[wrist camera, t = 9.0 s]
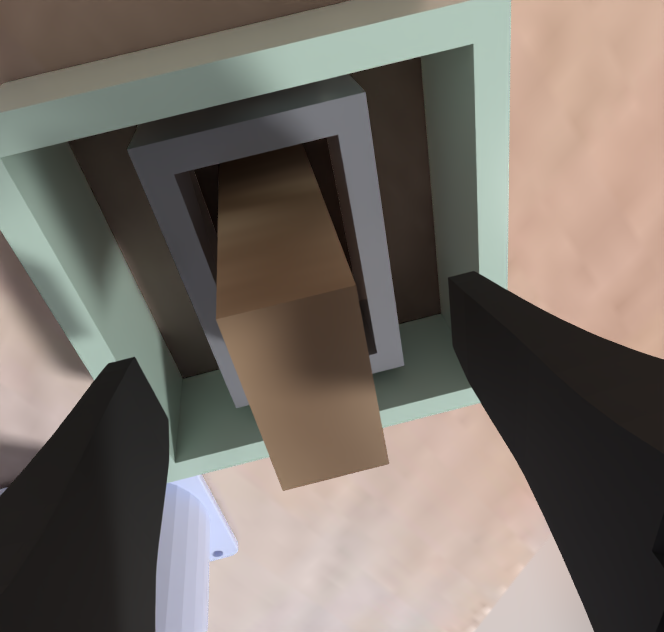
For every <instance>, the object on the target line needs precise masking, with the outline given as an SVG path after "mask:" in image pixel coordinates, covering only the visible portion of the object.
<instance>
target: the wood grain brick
mask: <svg viewBox="0 0 664 632" xmlns="http://www.w3.org/2000/svg"><path fill="white" fill-rule="evenodd" d="M216 321H217V323H218V326H219V329H220V331H221V334H222V336H223V339H224V341H225V344H226V346H227V349H228V352H229V354H230V357H231V359H232V362H233V364H234V367H235V369H236V372H237V375H238V377H239V380H240V382H241V385H242V387H243V390H244V392H245V395H246V398H247V400H248V403H249V405H250V408H251V410H252V413H253V415H254V418H255V421H256V423H257V426H258V428H259V431H260V433H261V436H262V438H263V441H264V444H265V446H266V449H267V451H268V454H269V456H270V459H271V461H272V464H273V467H274V469H275V472H276V474H277V477H278V479H279V482H280V484H281V487H282V490H283V491H285V490H289V489H293V488H296V487H300V486H304V485H308V484H312V483H316V482H320V481H324V480H328V479H332V478H336V477H340V476H344V475H348V474H351V473H355V472H359V471H363V470H367V469H371V468H375V467H379V466H383V465H387V464H389V461H388V455H387V450H386V445H385V439H384V434H383V428H382V423H381V417H380V412H379V407H378V401H377V396H376V390H375V385H374V380H373V374H372V369H371V363H370V358H369V353H368V347H367V342H366V336H365V331H364V325H363V320H362V315H361V309H360V304H359V298H358V293H357V288H356V284H355V281H354V278H353V276H352V273H351V270H350V268H349V265H348V263H347V260H346V257H345V255H344V252H343V249H342V247H341V244H340V241H339V239H338V236H337V234H336V231H335V228H334V226H333V223H332V220H331V218H330V215H329V212H328V210H327V207H326V204H325V202H324V199H323V197H322V194H321V191H320V189H319V186H318V183H317V181H316V178H315V175H314V173H313V170H312V168H311V165H310V162H309V160H308V157H307V154H306V152H305V149H304V146H303V144H302V143H301V144H297V145H293V146H289V147H285V148H281V149H277V150H272V151H268V152H264V153H260V154H256V155H252V156H248V157H244V158H240V159H235V160H231V161H227V162H223V163H219V197H218V245H217V292H216Z"/></svg>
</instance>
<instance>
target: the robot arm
mask: <svg viewBox="0 0 664 632" xmlns="http://www.w3.org/2000/svg"><path fill="white" fill-rule="evenodd" d="M448 287H449V301H450V316H451V331H452V345H453V348H454V351H455V353H456V355H457V358H458V360H459V362H460V365H461V367H462V369H463V371H464V374H465V376H466V378H467V380H468V382H469V384H470V386H471V387H472V389H473V391H474V392H475V394H476V396H477V397H478V399H479V401H480V402H481V404H482V406H483V407H484V409H485V411H486V412H487V414H488V415H489V417H490V419H491V420H492V422H493V423H494V425H495V427H496V428H497V430H498V432H499V433H500V435H501V436H502V438H503V440H504V441H505V443H506V445H507V446H508V448H509V449H510V451H511V453H512V454H513V456H514V458H515V459H516V461H517V463H518V465H519V467H520V468H521V470H522V472H523V474H524V476H525V478H526V480H527V482H528V484H529V486H530V488H531V490H532V492H533V494H534V496H535V498H536V501H537V503H538V505H539V507H540V509H541V511H542V513H543V515H544V517H545V520H546V522H547V524H548V526H549V528H550V531H551V533H552V535H553V537H554V539H555V541H556V544H557V546H558V548H559V550H560V552H561V554H562V557H563V559H564V561H565V564H566V566H567V568H568V571H569V573H570V575H571V578H572V580H573V582H574V585H575V587H576V589H577V591H578V594H579V596H580V598H581V601H582V603H583V605H584V608H585V610H586V612H587V615H588V618H589V620H590V622H591V625H592V627H593V630H594V632H664V360H663V359H660V358H657V357H653V356H651V355H648V354H645V353H642V352H639V351H636V350H633V349H630V348H628V347H625V346H622V345H620V344H617V343H615V342H612V341H609V340H607V339H604V338H602V337H599V336H597V335H594V334H592V333H590V332H587V331H585V330H583V329H581V328H579V327H577V326H575V325H572V324H570V323H568V322H566V321H564V320H562V319H560V318H558V317H556V316H554V315H552V314H550V313H548V312H546V311H544V310H542V309H540V308H538V307H537V306H535V305H533V304H531V303H529V302H527V301H526V300H524V299H522V298H520V297H518V296H517V295H515V294H513V293H512V292H510V291H508V290H506V289H505V288H503V287H501V286H500V285H498V284H496V283H494V282H493V281H491V280H489V279H488V278H486V277H484V276H482V275H481V274H479V273H477V272H475V271H471V272H467V273H463V274H460V275H456V276H452V277H448ZM168 468H169V419H168V417H167V415H166V413H165V411H164V410H163V408H162V406H161V404H160V402H159V400H158V398H157V397H156V395H155V393H154V391H153V389H152V387H151V385H150V384H149V382H148V380H147V378H146V376H145V374H144V372H143V371H142V369H141V367H140V365H139V363H138V361H137V359H136V358H135V357H131V358H127V359H123V360H119V361H115V362H111V363H108V364H107V365H106V366H105V368H104V369H103V370H102V371H101V373H100V374H99V375H98V376H97V378H96V379H95V380H94V382H93V383H92V384H91V386H90V387H89V388H88V390H87V391H86V392H85V394H84V395H83V396H82V398H81V399H80V400H79V402H78V403H77V404H76V406H75V407H74V408H73V409H72V411H71V412H70V413H69V415H68V416H67V417H66V419H65V420H64V421H63V422H62V424H61V425H60V426H59V428H58V429H57V430H56V432H55V433H54V434H53V435H52V437H51V438H50V439H49V440H48V441H47V443H46V444H45V445H44V446H43V447H42V449H41V450H40V451H39V452H38V453H37V454H36V456H35V457H34V458H33V459H32V460H31V462H30V463H29V464H28V465H27V466H26V468H25V469H24V470H23V471H22V472H21V473H20V475H19V476H18V477H17V478H16V479H15V480H14V481H13V482H12V483H11V485H10V486H9V487H7V488H3V489H0V632H208V600H209V562H210V561H214V560H217V559H221V558H225V557H229V556H232V555H234V554H235V553H237V551H238V541H237V540H236V538H235V536H234V534H233V532H232V530H231V528H230V527H229V525H228V523H227V521H226V519H225V517H224V515H223V514H222V512H221V510H220V508H219V506H218V504H217V502H216V501H215V499H214V497H213V495H212V493H211V491H210V489H209V487H208V486H207V484H206V482H205V480H204V478H203V476H202V474H201V475H197V476H193V477H189V478H185V479H181V480H177V481H174V482H170V483H167V476H168Z"/></svg>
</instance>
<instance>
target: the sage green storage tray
mask: <svg viewBox="0 0 664 632" xmlns="http://www.w3.org/2000/svg"><path fill="white" fill-rule="evenodd" d="M510 41H511V0H350V1H346V2H342V3H338V4H334V5H329V6H325V7H321V8H317V9H313V10H308V11H304V12H300V13H296V14H292V15H287V16H283V17H279V18H275V19H270V20H266V21H262V22H258V23H254V24H249V25H245V26H241V27H237V28H233V29H228V30H224V31H220V32H216V33H212V34H207V35H203V36H199V37H195V38H191V39H186V40H182V41H178V42H174V43H170V44H165V45H161V46H157V47H153V48H148V49H144V50H140V51H136V52H132V53H127V54H123V55H119V56H115V57H111V58H106V59H102V60H98V61H94V62H90V63H85V64H81V65H77V66H73V67H69V68H64V69H60V70H56V71H52V72H47V73H43V74H39V75H35V76H31V77H26V78H22V79H18V80H14V81H10V82H5V83H3V84H2V85H0V230H1V232H2V233H3V235H4V237H5V238H6V240H7V241H8V243H9V245H10V246H11V248H12V249H13V251H14V253H15V254H16V256H17V257H18V259H19V261H20V262H21V264H22V265H23V267H24V269H25V270H26V272H27V273H28V275H29V277H30V278H31V280H32V281H33V283H34V285H35V286H36V288H37V289H38V291H39V293H40V294H41V296H42V297H43V299H44V301H45V302H46V304H47V305H48V307H49V309H50V310H51V312H52V313H53V315H54V317H55V318H56V320H57V321H58V323H59V325H60V326H61V328H62V329H63V331H64V333H65V334H66V336H67V337H68V339H69V341H70V342H71V344H72V345H73V347H74V349H75V350H76V352H77V353H78V355H79V357H80V358H81V360H82V361H83V363H84V365H85V366H86V368H87V369H88V371H89V373H90V374H91V376H92V377H93V379H94V380H95V379H96V378H97V376H98V375H99V374H100V373H101V371H102V370H103V369H104V368H105V366H106V365H107V364H108V363H111V362H115V361H119V360H123V359H127V358H131V357H135V358H136V359H137V361H138V363H139V365H140V367H141V369H142V371H143V372H144V374H145V376H146V378H147V380H148V382H149V384H150V385H151V387H152V389H153V391H154V393H155V395H156V397H157V398H158V400H159V402H160V404H161V406H162V408H163V410H164V411H165V413H166V415H167V417H168V419H169V468H168V476H167V483H170V482H174V481H177V480H181V479H185V478H189V477H193V476H197V475H201V474H205V473H209V472H213V471H216V470H220V469H224V468H228V467H232V466H236V465H240V464H244V463H248V462H252V461H255V460H259V459H263V458H267V457H270V456H269V454H268V451H267V449H266V446H265V444H264V441H263V438H262V436H261V433H260V431H259V428H258V426H257V423H256V421H255V418H254V415H253V413H252V410H251V408H250V405H249V403H248V400H247V398H246V395H245V392H244V390H243V387H242V385H241V382H240V380H239V377H238V375H237V372H236V369H235V367H234V364H233V362H232V359H231V357H230V354H229V352H228V349H227V346H226V344H225V341H224V339H223V336H222V334H221V331H220V329H219V326H218V323H217V321H216V292H217V245H218V237H217V234H216V231H215V228H214V225H213V222H212V220H211V217H210V214H209V211H208V208H207V206H206V203H205V200H204V197H203V194H202V191H201V189H200V186H199V183H198V180H197V177H196V175H195V172H194V169H198V168H203V167H207V166H211V165H215V164H219V163H223V162H227V161H231V160H235V159H240V158H244V157H248V156H252V155H256V154H260V153H264V152H268V151H272V150H277V149H281V148H285V147H289V146H293V145H297V144H301V143H305V142H309V141H314V140H318V139H322V138H326V137H327V142H328V148H329V153H330V158H331V163H332V168H333V174H334V179H335V184H336V189H337V194H338V199H339V205H340V210H341V215H342V220H343V225H344V231H345V236H346V241H347V246H348V251H349V257H350V262H351V267H352V272H353V277H354V281H355V284H356V288H357V293H358V298H359V304H360V309H361V315H362V320H363V325H364V331H365V336H366V342H367V347H368V353H369V358H370V363H371V369H372V374H373V380H374V385H375V390H376V396H377V401H378V407H379V412H380V417H381V423H382V428H384V427H388V426H392V425H396V424H400V423H404V422H408V421H411V420H415V419H419V418H423V417H427V416H431V415H435V414H439V413H443V412H447V411H450V410H454V409H458V408H462V407H466V406H470V405H474V404H478V403H481V402H480V401H479V399H478V397H477V396H476V394H475V392H474V391H473V389H472V387H471V386H470V384H469V382H468V380H467V378H466V376H465V374H464V371H463V369H462V367H461V365H460V362H459V360H458V358H457V355H456V353H455V351H454V348H453V345H452V331H451V316H450V301H449V287H448V277H452V276H456V275H460V274H463V273H467V272H471V271H475V272H477V273H479V274H481V275H482V276H484V277H486V278H488V279H489V280H491V281H493V282H494V283H496V284H498V285H500V286H501V287H503V288H505V289H506V290H507V280H508V200H509V120H510ZM420 56H421V68H422V81H423V93H424V106H425V118H426V131H427V143H428V156H429V168H430V181H431V193H432V206H433V218H434V231H435V244H436V256H437V269H438V281H439V294H440V306H441V314H438V315H434V316H430V317H426V318H422V319H418V320H414V321H410V322H406V323H402V324H398V317H397V310H396V303H395V296H394V289H393V282H392V275H391V268H390V260H389V253H388V246H387V239H386V232H385V225H384V218H383V211H382V204H381V197H380V190H379V183H378V176H377V169H376V162H375V155H374V148H373V141H372V133H371V126H370V119H369V112H368V105H367V98H366V92H365V91H364V90H363V89H362V87H361V86H360V85H359V84H358V83H357V82H356V81H355V80H354V79H353V78H352V76H351V75H350V73H354V72H358V71H362V70H366V69H370V68H375V67H379V66H383V65H387V64H391V63H395V62H399V61H404V60H408V59H412V58H416V57H420ZM134 125H138V126H137V129H136V131H135V133H134V135H133V137H132V140H131V142H130V144H129V146H128V148H127V151H128V154H129V156H130V158H131V161H132V163H133V165H134V168H135V170H136V172H137V175H138V177H139V180H140V182H141V184H142V187H143V189H144V191H145V194H146V196H147V198H148V201H149V203H150V206H151V208H152V210H153V213H154V215H155V217H156V220H157V222H158V224H159V227H160V229H161V232H162V234H163V236H164V239H165V241H166V243H167V246H168V248H169V250H170V253H171V255H172V258H173V260H174V262H175V265H176V267H177V269H178V272H179V274H180V276H181V279H182V281H183V284H184V286H185V288H186V291H187V293H188V295H189V298H190V300H191V302H192V305H193V307H194V310H195V312H196V314H197V317H198V319H199V321H200V324H201V326H202V328H203V331H204V333H205V336H206V338H207V340H208V343H209V345H210V347H211V350H212V352H213V354H214V357H215V359H216V362H217V364H218V366H219V369H220V370H216V371H212V372H208V373H204V374H200V375H196V376H192V377H188V378H184V379H183V378H182V376H181V374H180V372H179V370H178V368H177V365H176V363H175V361H174V359H173V357H172V355H171V353H170V351H169V349H168V347H167V345H166V343H165V341H164V339H163V337H162V335H161V333H160V331H159V328H158V326H157V324H156V322H155V320H154V318H153V316H152V314H151V312H150V310H149V308H148V306H147V304H146V302H145V300H144V298H143V296H142V293H141V291H140V289H139V287H138V285H137V283H136V281H135V279H134V277H133V275H132V273H131V271H130V269H129V267H128V265H127V263H126V261H125V259H124V256H123V254H122V252H121V250H120V248H119V246H118V244H117V242H116V240H115V238H114V236H113V234H112V232H111V230H110V228H109V226H108V224H107V222H106V219H105V217H104V215H103V213H102V211H101V209H100V207H99V205H98V203H97V201H96V199H95V197H94V195H93V193H92V191H91V189H90V187H89V184H88V182H87V180H86V178H85V176H84V174H83V172H82V170H81V168H80V166H79V164H78V162H77V160H76V158H75V156H74V154H73V152H72V150H71V147H70V145H69V143H68V141H71V140H76V139H80V138H84V137H88V136H92V135H96V134H101V133H105V132H109V131H113V130H117V129H121V128H125V127H130V126H134Z"/></svg>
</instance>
